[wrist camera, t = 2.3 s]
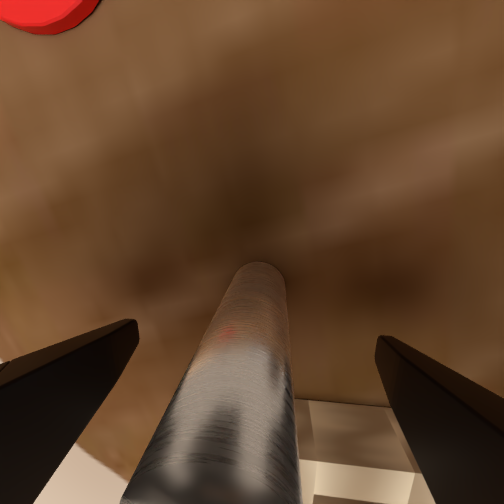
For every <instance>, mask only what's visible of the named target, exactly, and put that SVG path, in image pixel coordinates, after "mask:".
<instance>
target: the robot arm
mask: <svg viewBox="0 0 504 504" xmlns="http://www.w3.org/2000/svg"><path fill="white" fill-rule="evenodd" d="M138 343H139V331H138V323H137V321H136V320H135V319H123V320H120V321H118V322H115V323H112V324H109V325H107V326H104V327H101V328H98V329H96V330H93V331H90V332H87V333H84V334H82V335H79V336H76V337H73V338H71V339H68V340H65V341H62V342H60V343H57V344H54V345H51V346H49V347H46V348H43V349H40V350H38V351H35V352H32V353H29V354H27V355H24V356H21V357H18V358H16V359H13V360H11V362H10V361H7V362H4V363H2V364H0V504H33V503H34V501H35V500H36V498H37V497H38V496H39V494H40V493H41V491H42V490H43V488H44V487H45V485H46V484H47V482H48V481H49V479H50V478H51V477H52V475H53V474H54V472H55V471H56V469H57V468H58V467H59V465H60V464H61V462H62V461H63V459H64V458H65V456H66V455H67V454H68V452H69V450H70V449H71V448H72V446H73V445H74V443H75V442H76V440H77V439H78V438H79V436H80V435H81V433H82V432H83V430H84V429H85V427H86V426H87V425H88V423H89V422H90V420H91V419H92V417H93V416H94V414H95V413H96V411H97V410H98V409H99V407H100V406H101V404H102V403H103V401H104V400H105V398H106V397H107V395H108V394H109V393H110V391H111V390H112V388H113V387H114V385H115V384H116V382H117V381H118V379H119V377H120V376H121V374H122V372H123V370H124V369H125V367H126V365H127V363H128V362H129V360H130V358H131V356H132V354H133V353H134V351H135V349H136V347H137V346H138ZM375 363H376V366H377V369H378V371H379V374H380V377H381V380H382V383H383V386H384V389H385V392H386V395H387V398H388V400H389V403H390V406H391V408H392V410H393V413H394V415H395V417H396V419H397V421H398V423H399V426H400V428H401V430H402V432H403V434H404V436H405V439H406V441H407V443H408V445H409V447H410V449H411V452H412V454H413V456H414V458H415V460H416V462H417V465H418V467H419V469H420V471H421V473H422V475H423V477H424V480H425V482H426V484H427V486H428V488H429V490H430V493H431V495H432V497H433V499H434V501H435V503H436V504H504V398H502V397H500V396H498V395H496V394H495V393H493V392H491V391H489V390H487V389H486V388H484V387H482V386H480V385H479V384H477V383H475V382H473V381H471V380H470V379H468V378H466V377H464V376H462V375H461V374H459V373H457V372H455V371H453V370H452V369H450V368H448V367H446V366H444V365H443V364H441V363H439V362H437V361H435V360H434V359H432V358H430V357H428V356H427V355H425V354H423V353H421V352H419V351H418V350H416V349H414V348H412V347H410V346H409V345H407V344H405V343H403V342H401V341H400V340H398V339H396V338H394V337H392V336H384V335H380V336H379V337H378V339H377V344H376V350H375Z"/></svg>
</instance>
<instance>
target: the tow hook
mask: <svg viewBox="0 0 504 504" xmlns="http://www.w3.org/2000/svg"><path fill="white" fill-rule="evenodd" d="M98 1H99V0H0V20H2V21H4V22H6V23H7V24H9V25H11V26H13V27H15V28H18V29H21V30H24V31H27V32H30V33H32V34H58V33H60V32H63V31H65V30H68V29H71V28H73V27H75V26H76V25H78V24H79V23H80V22H81V21H82V20H83V19H84V18H86V17H87V16H88V15H89V14H90V13H91V12H92V11H93V10H94V8H95V6H96V5H97V3H98Z"/></svg>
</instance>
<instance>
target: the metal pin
mask: <svg viewBox="0 0 504 504" xmlns="http://www.w3.org/2000/svg"><path fill="white" fill-rule="evenodd" d="M120 504H303V498H302V486H301V474H300V461H299V449H298V437H297V424H296V412H295V400H294V387H293V375H292V363H291V350H290V338H289V326H288V313H287V301H286V289H285V281H284V278H283V276H282V274H281V273H280V272H279V270H278V269H277V268H275V267H274V266H272V265H271V264H268V263H265V262H259V261H258V262H251V263H248V264H245V265H244V266H242V267H241V268H240V269H239V270H238V271H237V272H236V274H235V276H234V278H233V280H232V282H231V284H230V286H229V287H228V289H227V291H226V293H225V295H224V297H223V299H222V301H221V303H220V305H219V307H218V309H217V311H216V313H215V315H214V317H213V319H212V321H211V323H210V325H209V327H208V329H207V331H206V333H205V335H204V337H203V339H202V340H201V342H200V344H199V346H198V348H197V350H196V352H195V354H194V356H193V358H192V360H191V362H190V364H189V366H188V368H187V370H186V372H185V374H184V376H183V378H182V380H181V382H180V384H179V386H178V388H177V390H176V392H175V393H174V395H173V397H172V399H171V401H170V403H169V405H168V407H167V409H166V411H165V413H164V415H163V417H162V419H161V421H160V423H159V425H158V427H157V429H156V431H155V433H154V435H153V437H152V439H151V441H150V443H149V445H148V446H147V448H146V450H145V452H144V454H143V456H142V458H141V460H140V462H139V464H138V466H137V468H136V470H135V472H134V474H133V476H132V478H131V480H130V482H129V484H128V486H127V488H126V490H125V492H124V494H123V496H122V498H121V501H120Z"/></svg>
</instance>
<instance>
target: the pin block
mask: <svg viewBox="0 0 504 504" xmlns="http://www.w3.org/2000/svg"><path fill="white" fill-rule="evenodd" d="M294 400H295V412H296V424H297V437H298V449H299V461H300V474H301V486H302V498H303V504H436V503H435V501H434V499H433V497H432V495H431V493H430V490H429V488H428V486H427V484H426V482H425V480H424V477H423V475H422V473H421V471H420V469H419V467H418V465H417V462H416V460H415V458H414V456H413V454H412V452H411V449H410V447H409V445H408V443H407V441H406V439H405V436H404V434H403V432H402V430H401V428H400V426H399V423H398V421H397V419H396V417H395V415H394V413H393V410H392V408H386V407H376V406H365V405H355V404H344V403H333V402H323V401H312V400H301V399H294Z"/></svg>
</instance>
